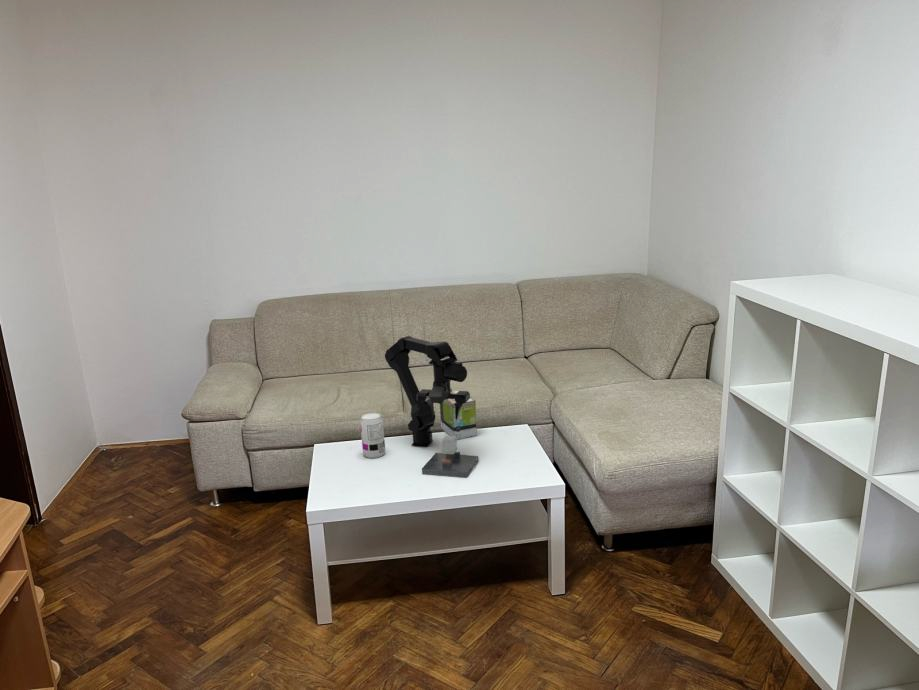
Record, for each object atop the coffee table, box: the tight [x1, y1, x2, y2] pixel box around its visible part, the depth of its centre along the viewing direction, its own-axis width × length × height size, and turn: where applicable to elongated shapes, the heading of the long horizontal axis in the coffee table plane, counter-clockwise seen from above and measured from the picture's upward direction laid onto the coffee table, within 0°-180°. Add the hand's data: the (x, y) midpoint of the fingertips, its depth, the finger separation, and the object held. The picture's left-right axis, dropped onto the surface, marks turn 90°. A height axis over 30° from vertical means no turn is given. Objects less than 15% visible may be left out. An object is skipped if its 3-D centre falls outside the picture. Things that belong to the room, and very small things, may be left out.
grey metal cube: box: [441, 435, 458, 454], centre depth 248 cm, size 4×4×5 cm
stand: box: [421, 451, 480, 479], centre depth 250 cm, size 16×14×4 cm
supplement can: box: [359, 412, 386, 459], centre depth 264 cm, size 8×8×15 cm
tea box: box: [439, 390, 478, 440], centre depth 281 cm, size 15×10×15 cm
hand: (444, 418), depth 261 cm, fingers open, 9 cm apart
